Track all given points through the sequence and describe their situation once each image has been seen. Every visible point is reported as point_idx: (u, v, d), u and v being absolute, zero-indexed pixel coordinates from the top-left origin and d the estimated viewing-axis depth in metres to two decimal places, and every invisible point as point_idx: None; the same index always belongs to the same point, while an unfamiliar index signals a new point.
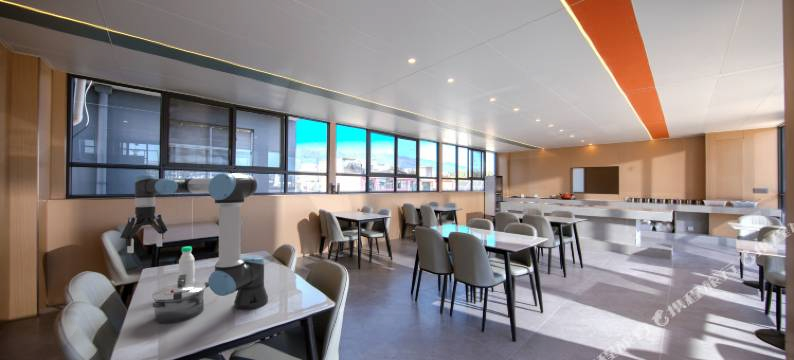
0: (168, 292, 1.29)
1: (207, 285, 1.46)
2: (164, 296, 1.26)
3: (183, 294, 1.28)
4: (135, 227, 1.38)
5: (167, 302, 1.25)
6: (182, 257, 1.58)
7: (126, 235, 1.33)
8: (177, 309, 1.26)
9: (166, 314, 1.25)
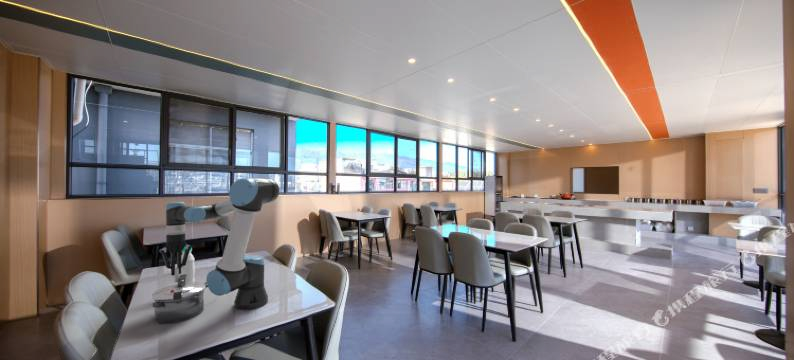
0: (168, 292, 1.29)
1: None
2: (164, 296, 1.26)
3: (183, 294, 1.28)
4: None
5: (167, 302, 1.25)
6: (182, 257, 1.58)
7: None
8: (177, 309, 1.26)
9: (166, 314, 1.25)
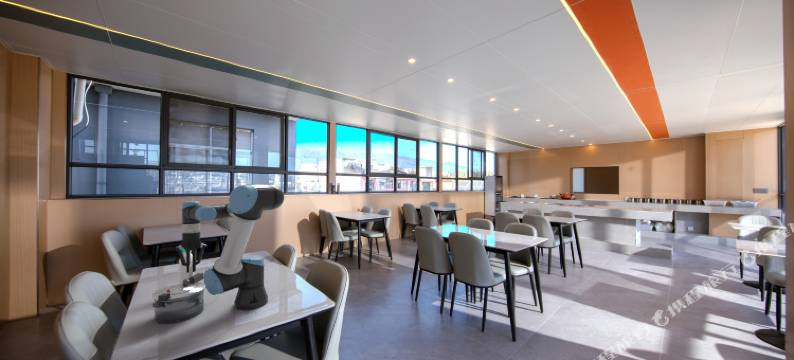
0: (166, 291, 1.30)
1: None
2: (158, 295, 1.27)
3: (172, 296, 1.26)
4: (195, 253, 1.48)
5: (167, 302, 1.25)
6: None
7: None
8: (177, 309, 1.26)
9: (166, 314, 1.25)
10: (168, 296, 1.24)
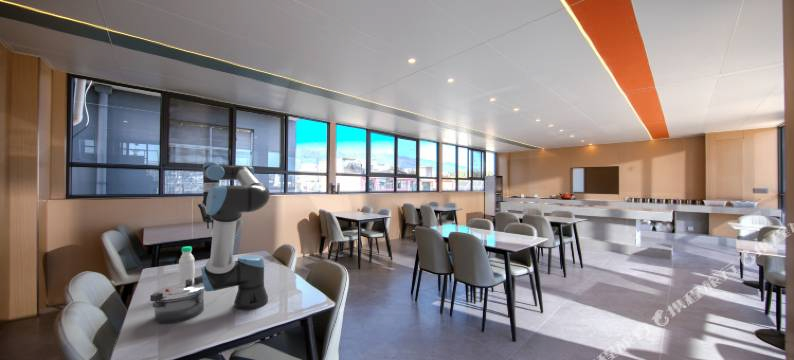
0: None
1: None
2: None
3: (166, 296, 1.26)
4: None
5: (167, 302, 1.25)
6: (182, 257, 1.58)
7: None
8: (177, 309, 1.26)
9: (166, 314, 1.25)
10: (160, 296, 1.24)
